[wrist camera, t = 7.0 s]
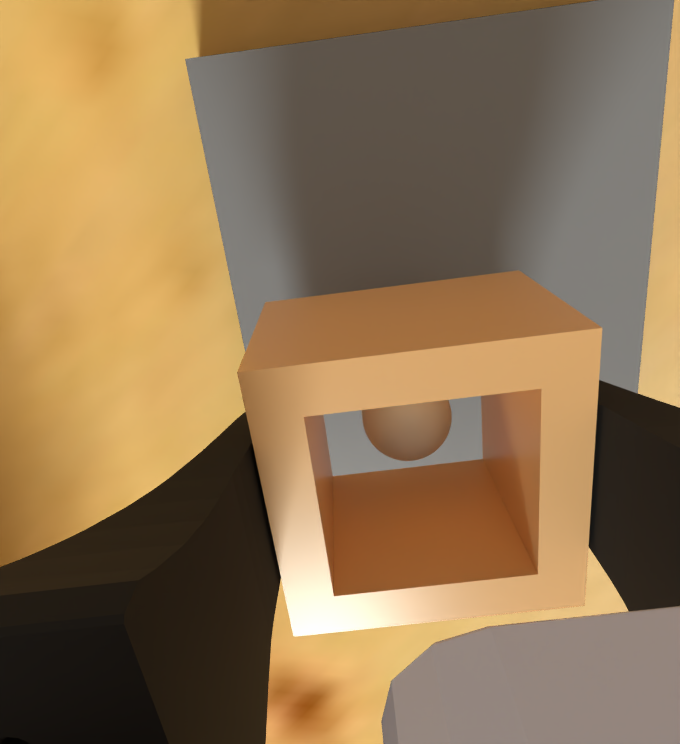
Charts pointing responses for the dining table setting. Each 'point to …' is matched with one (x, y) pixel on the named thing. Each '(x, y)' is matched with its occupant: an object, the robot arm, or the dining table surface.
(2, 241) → the dining table surface
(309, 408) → the orange loop
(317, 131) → the hook board
